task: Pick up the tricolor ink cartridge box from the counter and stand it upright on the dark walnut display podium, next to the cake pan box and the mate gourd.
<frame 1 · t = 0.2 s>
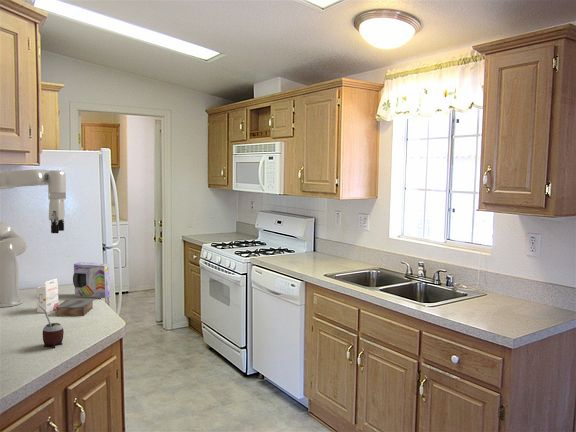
hand: (57, 231, 226), 36 cm above the worktop, tool pointing down, fingers open, 9 cm apart
mate gourd: (51, 346, 177), on the worktop
display podium: (75, 311, 219), on the worktop
cake pan box: (91, 296, 246), on the worktop
ink cartridge box: (47, 310, 220), on the worktop
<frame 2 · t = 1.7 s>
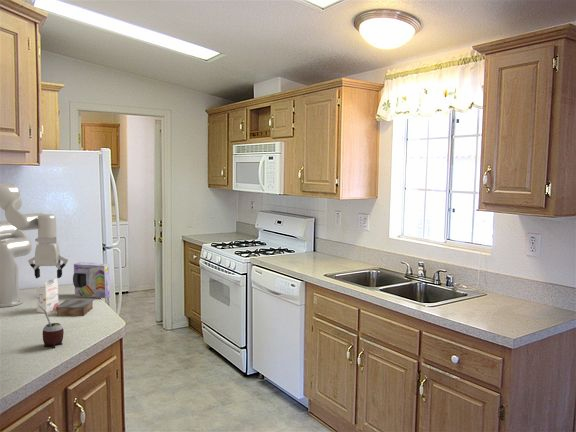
hand: (48, 277, 218), 16 cm above the worktop, tool pointing down, fingers open, 9 cm apart
nothing on the worktop moved.
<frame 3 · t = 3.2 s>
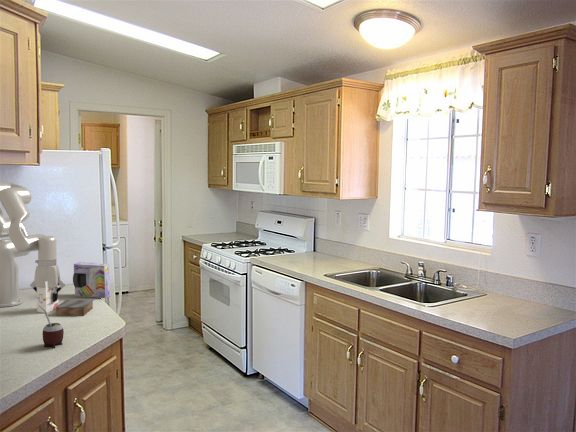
hand: (47, 300, 219), 5 cm above the worktop, tool pointing down, fingers closed on ink cartridge box, 5 cm apart
ink cartridge box: (47, 310, 220), on the worktop, touching gripper
everything else where it was.
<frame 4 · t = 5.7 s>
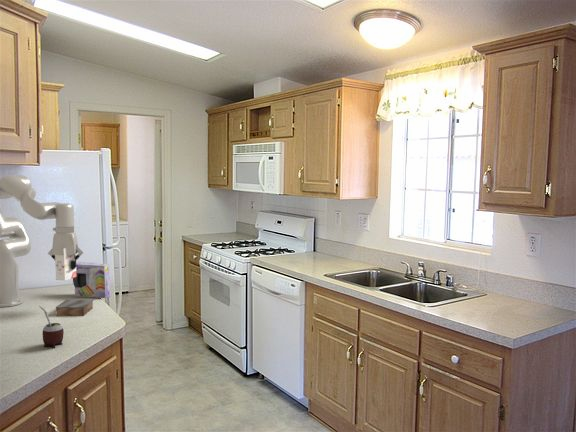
hand: (66, 268, 217), 20 cm above the worktop, tool pointing down, fingers closed on ink cartridge box, 5 cm apart
ink cartridge box: (66, 278, 218), point 15 cm above the worktop, touching gripper
everything else where it was.
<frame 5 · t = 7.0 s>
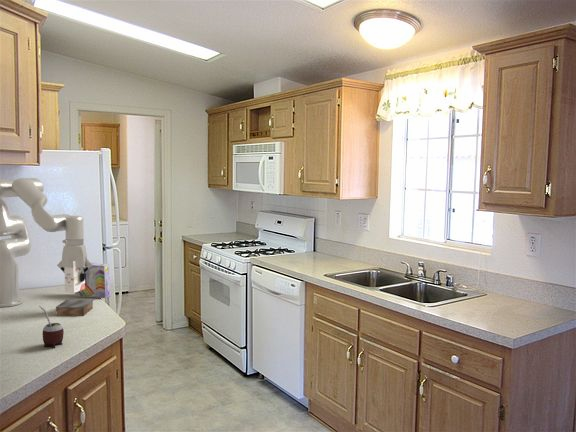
hand: (75, 280, 218), 15 cm above the worktop, tool pointing down, fingers closed on ink cartridge box, 5 cm apart
ink cartridge box: (75, 291, 218), point 10 cm above the worktop, touching gripper
everything else where it was.
when the fingers open (10 cm above the worktop, at t = 8.2 s): ink cartridge box drops 1 cm, resting on display podium.
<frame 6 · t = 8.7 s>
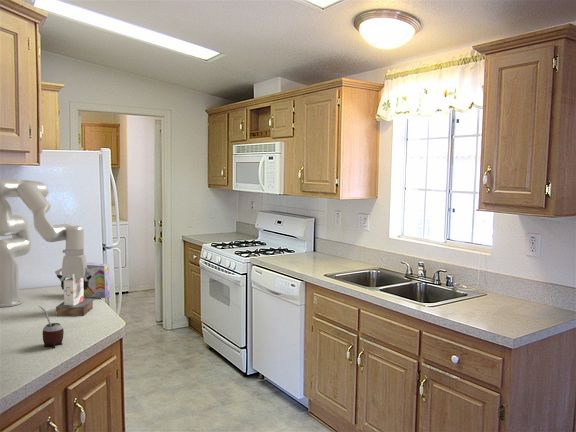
hand: (74, 289, 218), 11 cm above the worktop, tool pointing down, fingers open, 9 cm apart
ink cartridge box: (73, 303, 219), point 4 cm above the worktop, touching display podium
everything else where it was.
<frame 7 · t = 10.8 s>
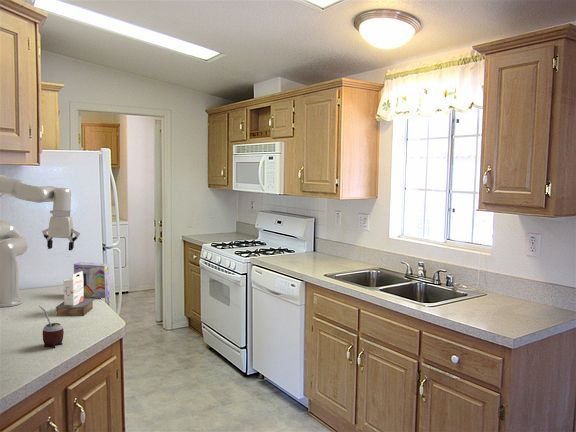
hand: (60, 249, 225), 28 cm above the worktop, tool pointing down, fingers open, 9 cm apart
nothing on the worktop moved.
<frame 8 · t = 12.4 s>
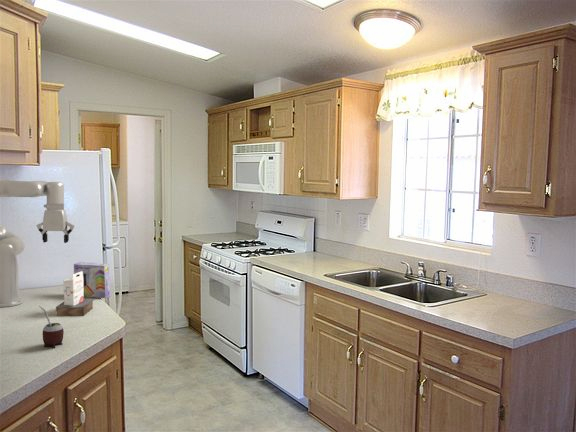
hand: (55, 242, 229), 30 cm above the worktop, tool pointing down, fingers open, 9 cm apart
nothing on the worktop moved.
at the end: ink cartridge box inside the target area on the display podium (0.5 cm from its centre), point 3.8 cm above the display podium's base; ink cartridge box tilted 0°; the gripper is holding nothing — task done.
